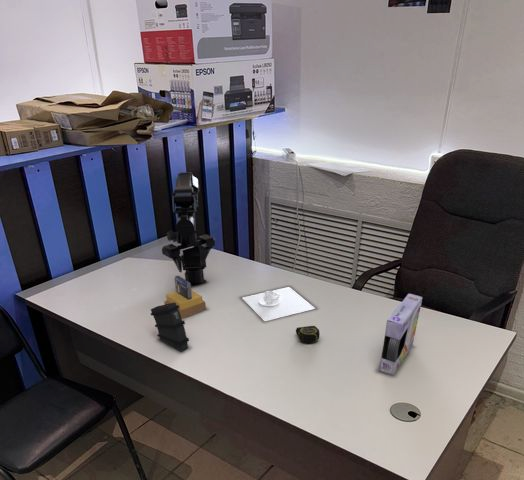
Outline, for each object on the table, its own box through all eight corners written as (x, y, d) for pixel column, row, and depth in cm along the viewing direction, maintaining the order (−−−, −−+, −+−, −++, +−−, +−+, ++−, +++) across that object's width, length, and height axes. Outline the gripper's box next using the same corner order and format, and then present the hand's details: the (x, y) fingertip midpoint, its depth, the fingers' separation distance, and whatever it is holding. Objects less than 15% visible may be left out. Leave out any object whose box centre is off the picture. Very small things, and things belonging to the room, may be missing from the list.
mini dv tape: (176, 292, 176) (174, 276, 173) (179, 290, 177) (178, 275, 174) (188, 300, 171) (186, 284, 167) (192, 298, 171) (190, 282, 168)
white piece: (276, 295, 185) (276, 285, 182) (286, 304, 178) (286, 293, 176) (254, 300, 181) (254, 290, 179) (264, 309, 175) (263, 299, 173)
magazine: (186, 351, 150) (167, 305, 146) (164, 353, 160) (145, 310, 156) (195, 346, 152) (177, 301, 149) (173, 348, 162) (155, 306, 159)
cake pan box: (393, 378, 139) (401, 324, 130) (376, 373, 142) (383, 319, 132) (414, 347, 153) (423, 295, 143) (398, 342, 155) (406, 291, 146)
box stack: (191, 299, 183) (189, 286, 180) (206, 309, 176) (204, 295, 173) (165, 309, 177) (163, 295, 174) (179, 319, 171) (177, 305, 168)
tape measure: (315, 333, 161) (316, 323, 159) (321, 344, 155) (322, 334, 153) (295, 335, 160) (295, 325, 158) (300, 346, 154) (300, 336, 152)
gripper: (197, 215, 179) (201, 255, 187) (151, 226, 169) (157, 268, 178) (214, 222, 171) (217, 264, 180) (167, 234, 162) (173, 278, 170)
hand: (191, 268), depth 177 cm, fingers open, 9 cm apart
